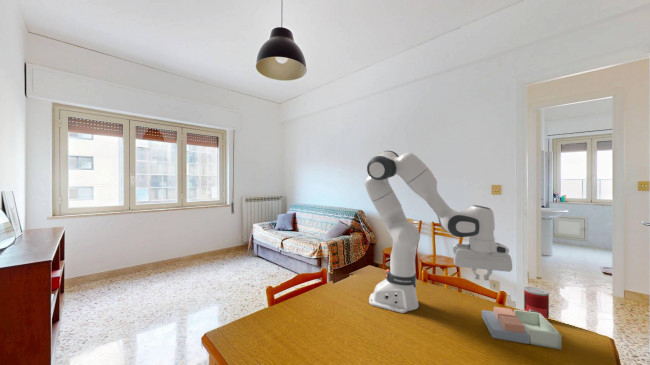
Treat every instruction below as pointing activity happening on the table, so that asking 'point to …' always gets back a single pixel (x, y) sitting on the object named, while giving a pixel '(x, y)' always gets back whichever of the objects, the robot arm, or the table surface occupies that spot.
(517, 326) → the tile
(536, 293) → the canned food
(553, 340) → the bin
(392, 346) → the table surface
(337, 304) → the table surface
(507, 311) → the tile
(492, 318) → the shallow grey tray
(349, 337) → the table surface
